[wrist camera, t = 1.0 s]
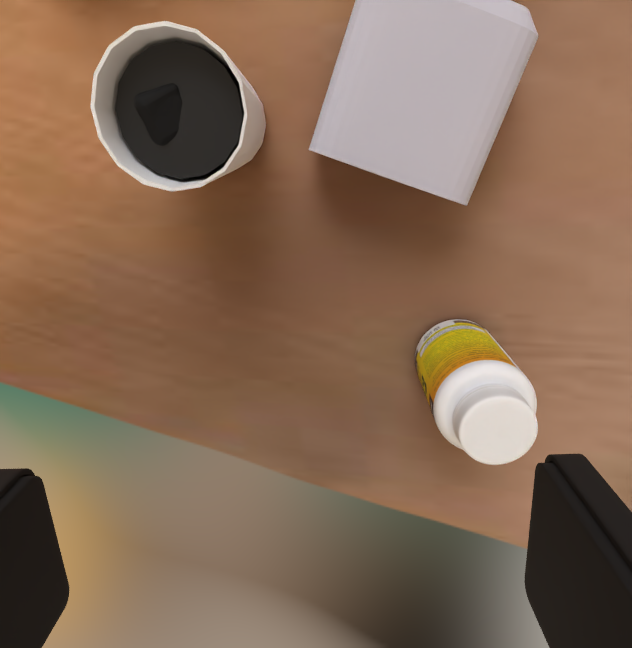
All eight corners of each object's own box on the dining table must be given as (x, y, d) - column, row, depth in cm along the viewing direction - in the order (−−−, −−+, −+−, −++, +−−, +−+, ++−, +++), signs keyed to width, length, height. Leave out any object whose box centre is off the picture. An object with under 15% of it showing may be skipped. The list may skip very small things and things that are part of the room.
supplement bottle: (396, 350, 36) (420, 425, 26) (462, 300, 34) (513, 359, 25) (445, 406, 37) (484, 497, 27) (510, 359, 36) (577, 438, 26)
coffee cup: (191, 194, 33) (132, 212, 23) (145, 86, 31) (61, 57, 21) (289, 157, 32) (270, 160, 22) (249, 43, 30) (209, -7, 20)
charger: (563, -73, 28) (451, 200, 32) (401, -138, 27) (311, 150, 32) (608, -116, 23) (470, 208, 28) (415, -195, 22) (307, 150, 27)
